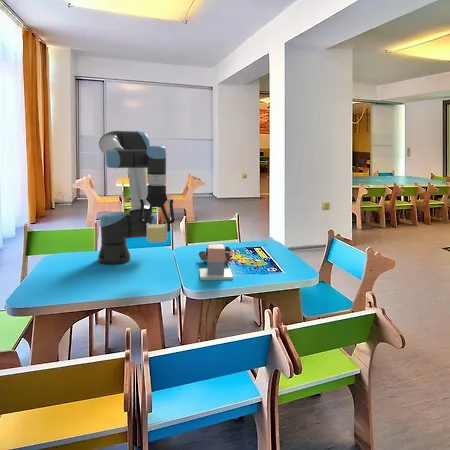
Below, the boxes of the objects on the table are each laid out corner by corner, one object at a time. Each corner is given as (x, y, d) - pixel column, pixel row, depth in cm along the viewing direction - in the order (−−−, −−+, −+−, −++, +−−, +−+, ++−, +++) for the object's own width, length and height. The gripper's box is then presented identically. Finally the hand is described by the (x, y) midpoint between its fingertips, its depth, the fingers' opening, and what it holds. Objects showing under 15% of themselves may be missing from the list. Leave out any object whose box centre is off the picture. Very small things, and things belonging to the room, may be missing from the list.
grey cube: (208, 275, 176) (208, 261, 174) (207, 270, 182) (207, 257, 181) (224, 275, 176) (224, 261, 175) (222, 270, 183) (223, 257, 182)
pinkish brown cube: (208, 262, 174) (208, 248, 173) (207, 257, 181) (207, 244, 180) (224, 261, 175) (225, 248, 174) (223, 257, 182) (223, 244, 180)
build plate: (200, 279, 173) (200, 277, 173) (199, 271, 185) (199, 268, 184) (232, 279, 174) (232, 276, 174) (229, 270, 186) (229, 268, 186)
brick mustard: (148, 242, 166) (147, 227, 165) (149, 238, 173) (149, 224, 172) (165, 242, 167) (165, 227, 166) (165, 237, 174) (165, 224, 173)
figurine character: (201, 268, 194) (232, 263, 196) (199, 252, 192) (230, 248, 194) (199, 263, 201) (229, 259, 203) (198, 249, 199) (228, 244, 201)
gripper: (130, 185, 160) (131, 241, 165) (181, 186, 162) (181, 241, 167) (133, 182, 168) (134, 236, 173) (181, 183, 170) (181, 236, 175)
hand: (157, 238), depth 170 cm, fingers closed on brick mustard, 7 cm apart
